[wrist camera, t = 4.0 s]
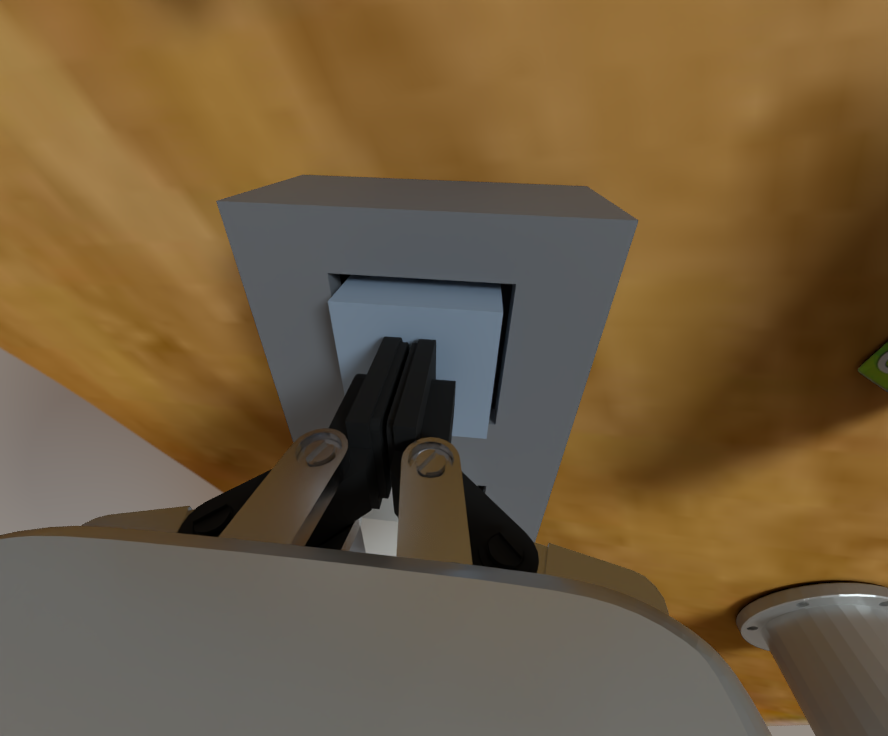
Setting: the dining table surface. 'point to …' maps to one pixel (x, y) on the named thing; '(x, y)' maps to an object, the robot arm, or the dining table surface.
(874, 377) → the snack box
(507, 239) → the key console
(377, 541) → the white key
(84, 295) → the dining table surface
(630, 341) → the dining table surface
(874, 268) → the dining table surface
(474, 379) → the slate-blue key
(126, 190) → the dining table surface
